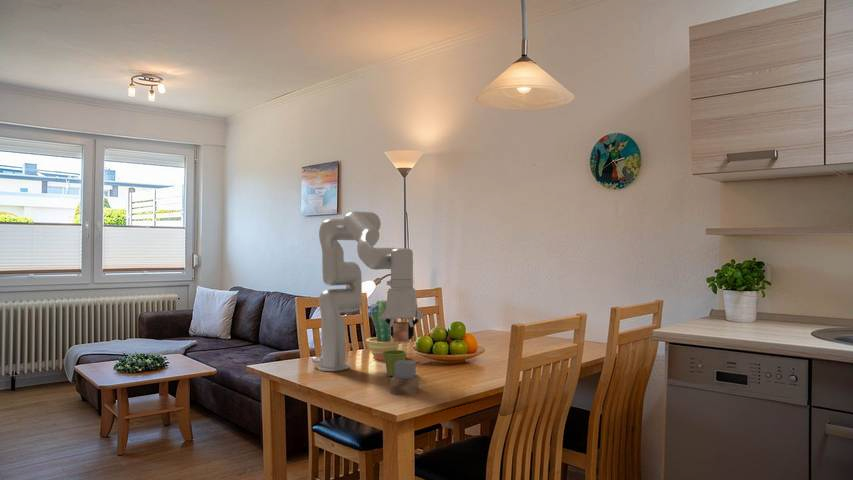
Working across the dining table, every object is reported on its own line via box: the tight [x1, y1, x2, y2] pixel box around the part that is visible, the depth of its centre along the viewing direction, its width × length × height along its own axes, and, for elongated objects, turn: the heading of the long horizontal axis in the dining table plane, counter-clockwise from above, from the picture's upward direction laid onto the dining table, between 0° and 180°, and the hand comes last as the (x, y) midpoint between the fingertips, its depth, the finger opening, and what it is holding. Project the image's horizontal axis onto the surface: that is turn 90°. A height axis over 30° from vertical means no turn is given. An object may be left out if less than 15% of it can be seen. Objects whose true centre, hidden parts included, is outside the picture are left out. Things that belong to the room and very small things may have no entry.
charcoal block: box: [395, 359, 417, 379], centre depth 198 cm, size 6×6×5 cm
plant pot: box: [383, 349, 408, 377], centre depth 222 cm, size 9×9×9 cm
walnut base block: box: [389, 374, 420, 396], centre depth 198 cm, size 8×8×5 cm
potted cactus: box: [365, 300, 401, 361], centre depth 256 cm, size 15×15×25 cm
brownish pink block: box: [393, 321, 412, 343], centre depth 199 cm, size 5×5×6 cm
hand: (402, 337), depth 199 cm, fingers closed on brownish pink block, 4 cm apart
